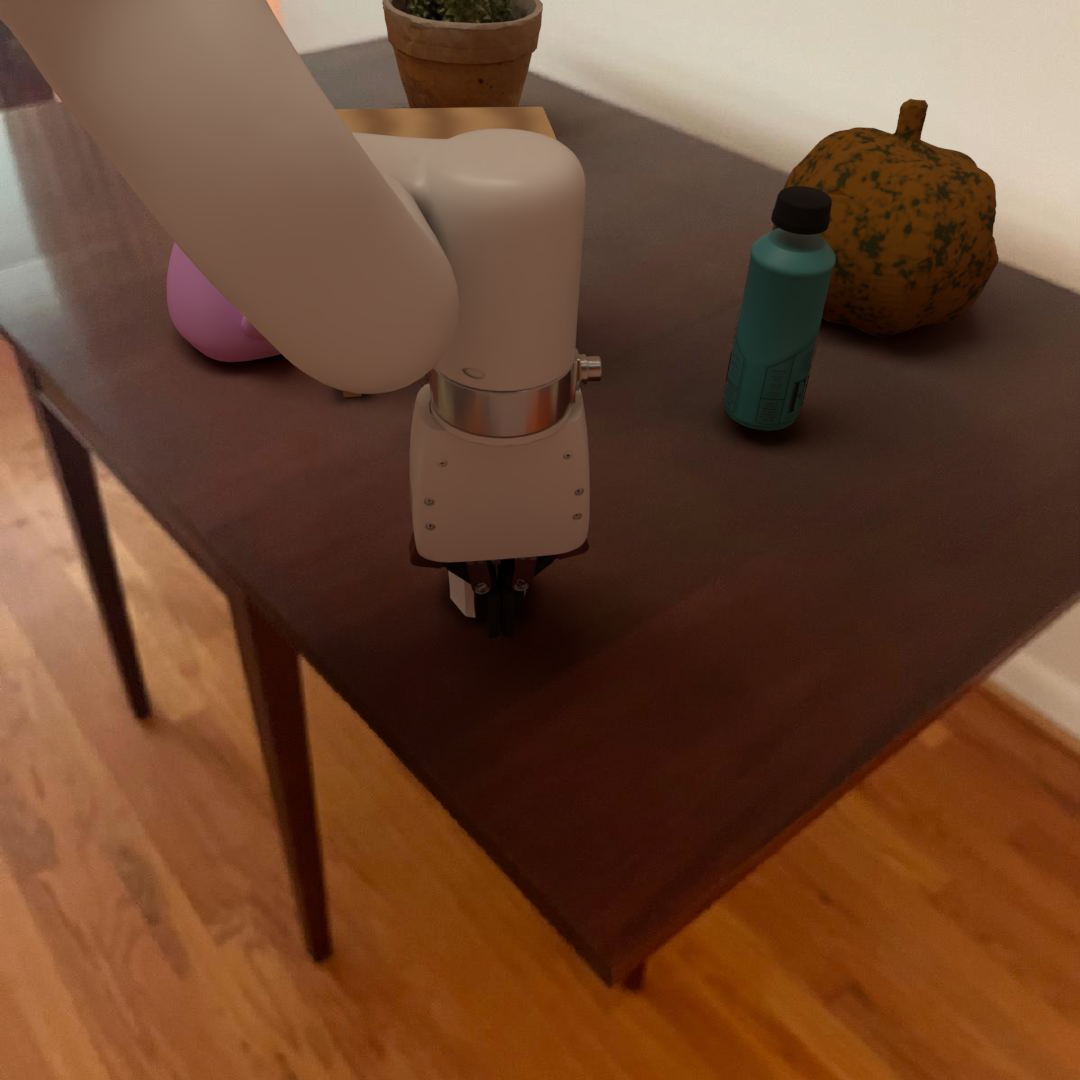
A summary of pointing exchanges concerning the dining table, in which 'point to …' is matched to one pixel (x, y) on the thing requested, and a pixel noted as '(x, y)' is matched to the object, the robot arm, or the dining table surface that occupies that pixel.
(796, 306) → the beverage bottle
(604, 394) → the dining table surface
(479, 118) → the desk
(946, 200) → the decorative pumpkin
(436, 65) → the potted plant
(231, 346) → the teapot
